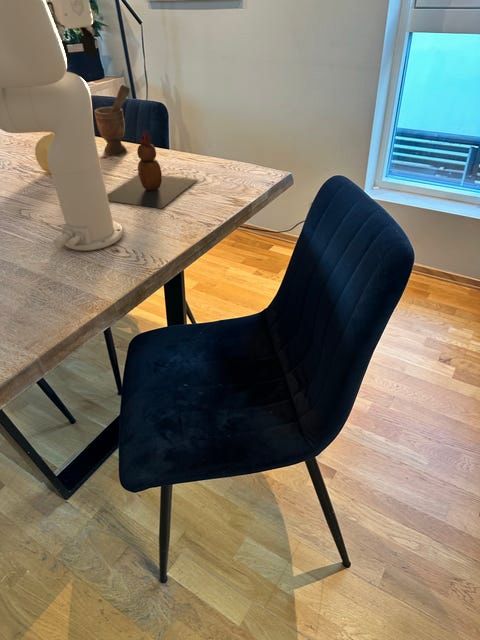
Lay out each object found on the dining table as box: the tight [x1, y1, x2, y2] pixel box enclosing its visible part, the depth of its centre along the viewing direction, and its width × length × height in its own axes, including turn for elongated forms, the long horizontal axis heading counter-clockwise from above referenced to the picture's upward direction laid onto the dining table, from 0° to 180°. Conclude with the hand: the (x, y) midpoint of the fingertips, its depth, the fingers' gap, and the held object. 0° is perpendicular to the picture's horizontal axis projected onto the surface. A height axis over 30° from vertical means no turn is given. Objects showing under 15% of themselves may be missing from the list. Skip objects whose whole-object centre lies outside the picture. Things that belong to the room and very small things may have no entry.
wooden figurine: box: [137, 129, 163, 190], centre depth 110 cm, size 7×6×15 cm
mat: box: [107, 174, 197, 210], centre depth 114 cm, size 20×18×1 cm
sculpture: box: [34, 132, 55, 175], centre depth 124 cm, size 11×12×11 cm
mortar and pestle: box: [94, 84, 130, 157], centre depth 135 cm, size 12×9×20 cm
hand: (78, 58), depth 97 cm, fingers open, 9 cm apart
